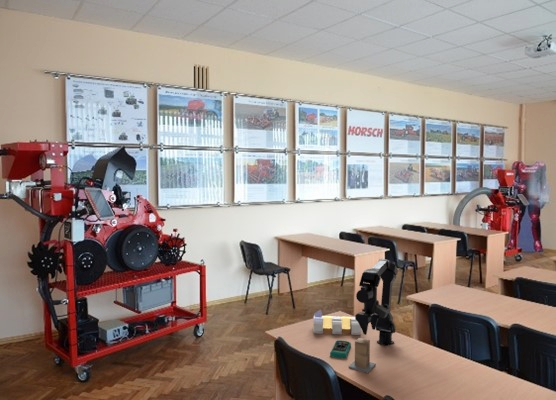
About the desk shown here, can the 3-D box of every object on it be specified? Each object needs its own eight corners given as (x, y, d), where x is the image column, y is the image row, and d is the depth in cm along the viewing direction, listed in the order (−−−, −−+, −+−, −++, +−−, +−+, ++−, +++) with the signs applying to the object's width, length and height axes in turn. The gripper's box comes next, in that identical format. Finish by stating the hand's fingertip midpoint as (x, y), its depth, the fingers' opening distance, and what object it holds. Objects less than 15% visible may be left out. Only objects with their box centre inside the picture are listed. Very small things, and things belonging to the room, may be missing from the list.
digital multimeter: (351, 346, 210) (351, 340, 210) (345, 360, 195) (346, 353, 195) (336, 345, 212) (336, 339, 212) (329, 357, 198) (329, 351, 198)
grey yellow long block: (313, 334, 226) (313, 310, 225) (313, 327, 236) (313, 304, 235) (360, 336, 223) (361, 312, 222) (359, 329, 233) (359, 305, 232)
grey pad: (356, 360, 194) (356, 358, 194) (375, 365, 189) (375, 363, 189) (348, 368, 186) (348, 366, 186) (368, 373, 181) (368, 371, 181)
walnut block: (359, 361, 191) (359, 337, 190) (369, 364, 188) (369, 340, 188) (354, 365, 187) (354, 341, 186) (365, 368, 184) (365, 343, 183)
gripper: (378, 305, 181) (377, 341, 181) (395, 297, 196) (394, 330, 196) (355, 301, 187) (354, 335, 188) (372, 293, 202) (371, 325, 203)
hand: (369, 332), depth 193 cm, fingers open, 9 cm apart
